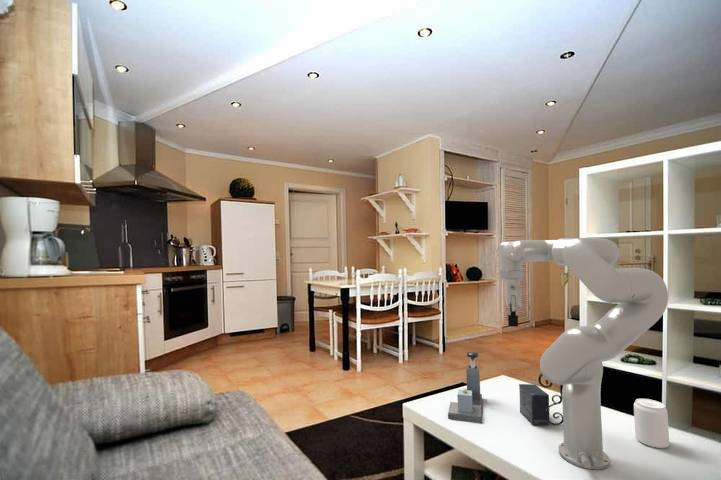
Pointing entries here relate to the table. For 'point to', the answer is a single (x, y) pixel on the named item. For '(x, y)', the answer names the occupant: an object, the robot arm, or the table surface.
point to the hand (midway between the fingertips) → (513, 325)
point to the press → (473, 386)
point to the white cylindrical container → (651, 423)
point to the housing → (465, 400)
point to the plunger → (472, 358)
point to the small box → (534, 404)
